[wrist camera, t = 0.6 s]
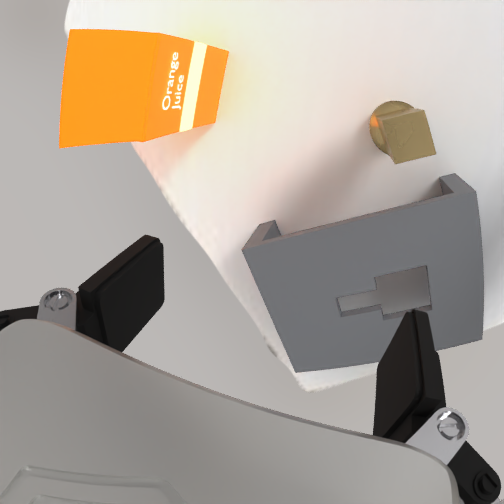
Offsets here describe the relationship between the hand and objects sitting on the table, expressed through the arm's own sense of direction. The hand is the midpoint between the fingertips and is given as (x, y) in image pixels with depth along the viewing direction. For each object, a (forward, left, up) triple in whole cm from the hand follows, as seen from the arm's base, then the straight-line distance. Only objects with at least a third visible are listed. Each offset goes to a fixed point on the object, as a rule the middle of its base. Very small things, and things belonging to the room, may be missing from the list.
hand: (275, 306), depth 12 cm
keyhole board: (-2, +14, -26) cm, 30 cm away
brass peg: (-8, -2, -26) cm, 27 cm away
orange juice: (+11, -14, -26) cm, 32 cm away
